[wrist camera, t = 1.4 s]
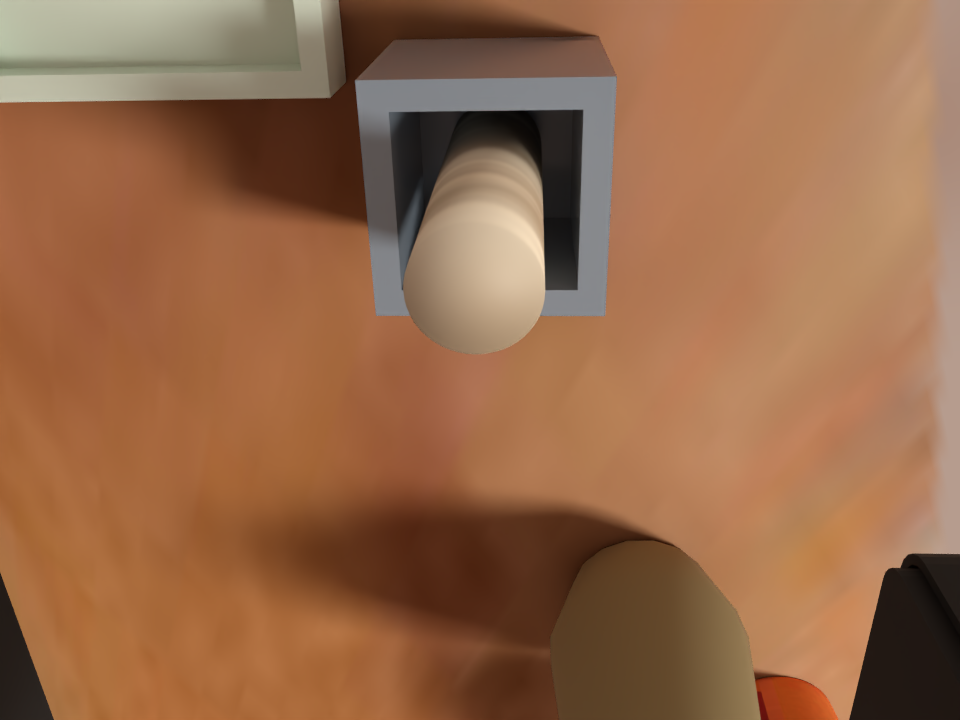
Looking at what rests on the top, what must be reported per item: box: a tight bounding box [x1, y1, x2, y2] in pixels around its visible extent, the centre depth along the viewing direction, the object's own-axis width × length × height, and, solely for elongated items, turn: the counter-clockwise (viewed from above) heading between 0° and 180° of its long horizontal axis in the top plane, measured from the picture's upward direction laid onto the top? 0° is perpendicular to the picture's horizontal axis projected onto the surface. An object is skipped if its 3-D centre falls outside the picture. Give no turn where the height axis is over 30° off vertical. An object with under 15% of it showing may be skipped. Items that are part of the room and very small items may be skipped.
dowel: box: [403, 110, 545, 354], centre depth 24 cm, size 3×3×12 cm
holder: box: [355, 36, 617, 316], centre depth 26 cm, size 7×7×7 cm
